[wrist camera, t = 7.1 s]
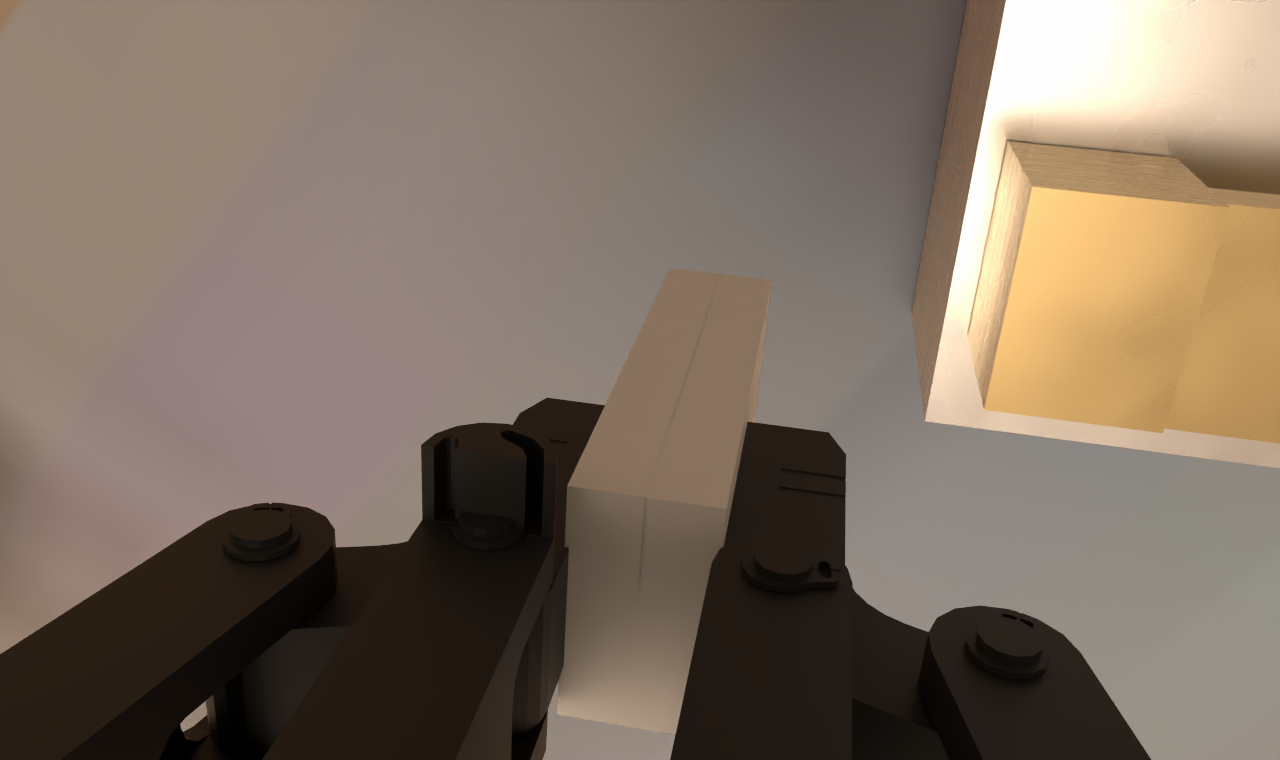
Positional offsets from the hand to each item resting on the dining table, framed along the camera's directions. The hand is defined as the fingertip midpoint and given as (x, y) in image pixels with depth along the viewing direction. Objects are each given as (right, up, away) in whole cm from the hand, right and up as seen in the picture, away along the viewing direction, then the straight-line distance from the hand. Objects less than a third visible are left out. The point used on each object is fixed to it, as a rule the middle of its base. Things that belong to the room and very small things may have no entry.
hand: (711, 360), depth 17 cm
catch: (+10, +2, +4) cm, 11 cm away
